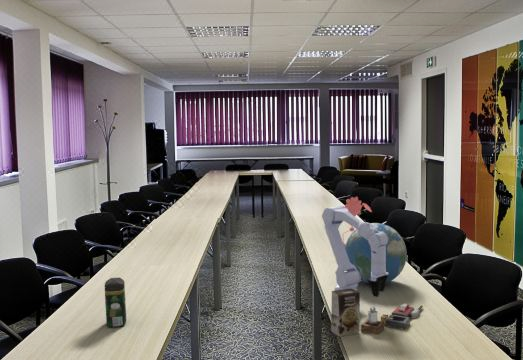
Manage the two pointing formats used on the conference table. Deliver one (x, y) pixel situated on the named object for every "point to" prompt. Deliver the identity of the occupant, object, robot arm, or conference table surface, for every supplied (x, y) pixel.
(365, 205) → the figurine
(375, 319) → the silver knobbed cylinder
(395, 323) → the block
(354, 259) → the globe
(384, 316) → the key
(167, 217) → the conference table surface
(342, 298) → the coffee box
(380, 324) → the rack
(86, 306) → the conference table surface
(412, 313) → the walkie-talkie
